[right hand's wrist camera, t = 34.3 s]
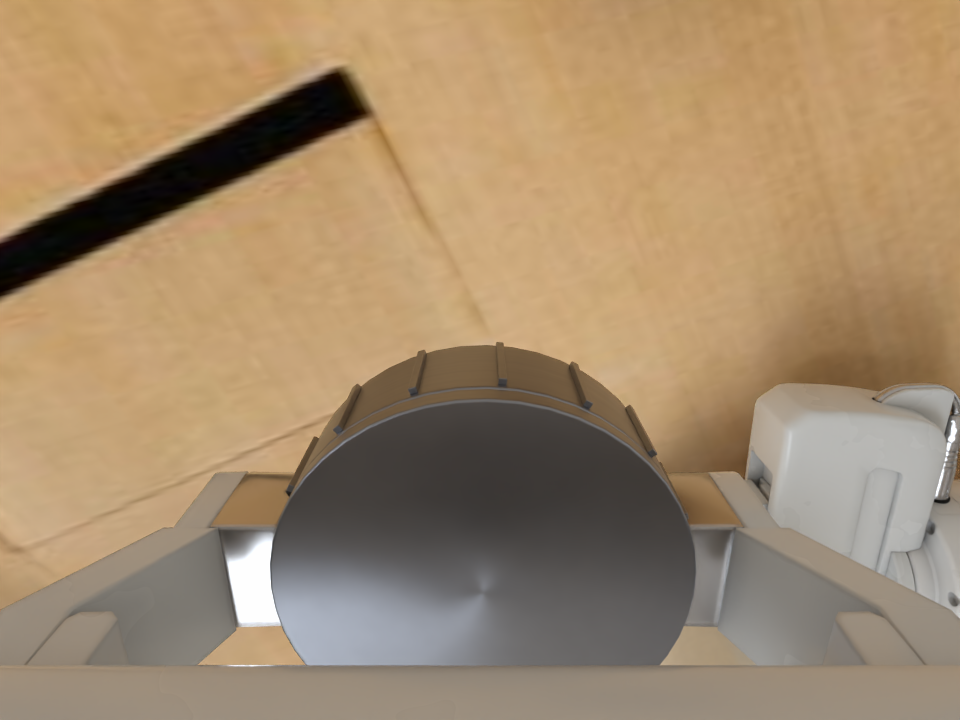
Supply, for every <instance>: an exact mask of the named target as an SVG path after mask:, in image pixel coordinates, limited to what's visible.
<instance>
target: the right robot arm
mask: <svg viewBox="0 0 960 720" xmlns="http://www.w3.org/2000/svg"><path fill="white" fill-rule="evenodd" d="M294 474H295V473H284V472H247V471H240V472H219V473H215V474H214V476H213V477H212V478H211V479H210V481H209V482H208V483H207V485H206V486H205V487H204V489H203V490H202V491H201V492H200V494H199V495H198V496H197V498H196V499H195V500H194V501H193V503H192V504H191V505H190V507H189V508H188V509H187V511H186V512H185V513H184V514H183V516H182V517H181V518H180V520H179V521H178V522H177V523H176V525H175V526H174V527H173V528H162V529H160V530H158V531H156V532H154V533H152V534H150V535H148V536H146V537H144V538H142V539H140V540H138V541H136V542H134V543H132V544H130V545H128V546H126V547H124V548H122V549H120V550H118V551H116V552H114V553H112V554H111V555H109V556H107V557H105V558H103V559H101V560H99V561H97V562H95V563H93V564H91V565H89V566H87V567H85V568H83V569H81V570H79V571H77V572H75V573H73V574H71V575H69V576H67V577H65V578H63V579H61V580H59V581H57V582H55V583H53V584H51V585H49V586H47V587H45V588H43V589H41V590H39V591H37V592H35V593H33V594H31V595H29V596H27V597H25V598H23V599H21V600H19V601H17V602H15V603H13V604H11V605H9V606H7V607H5V608H3V609H2V610H1V611H0V720H960V618H959V617H958V616H957V615H956V614H955V613H954V612H953V611H952V610H950V609H948V608H946V607H944V606H942V605H940V604H939V603H937V602H935V601H933V600H931V599H929V598H927V597H925V596H923V595H921V594H919V593H917V592H915V591H913V590H911V589H909V588H907V587H905V586H903V585H901V584H899V583H897V582H895V581H893V580H891V579H889V578H887V577H885V576H884V575H882V574H880V573H878V572H876V571H874V570H872V569H870V568H868V567H866V566H864V565H862V564H860V563H858V562H856V561H854V560H852V559H850V558H848V557H846V556H844V555H842V554H840V553H838V552H836V551H834V550H832V549H830V548H829V547H827V546H825V545H823V544H821V543H819V542H817V541H815V540H813V539H811V538H809V537H807V536H805V535H803V534H801V533H799V532H797V531H795V530H793V529H791V528H780V527H779V525H778V524H777V523H776V521H775V520H774V519H773V518H772V516H771V515H770V514H769V512H768V511H767V510H766V508H765V507H764V506H763V504H762V503H761V502H760V500H759V499H758V498H757V497H756V495H755V494H754V493H753V491H752V490H751V489H750V487H749V486H748V485H747V483H746V482H745V481H744V479H743V478H742V477H741V475H740V474H738V473H736V472H734V471H725V472H695V473H667V475H668V477H669V479H670V481H671V483H672V485H673V486H674V488H675V490H676V492H677V494H678V496H679V498H680V500H681V502H682V503H683V505H684V507H685V509H686V511H687V513H688V517H689V519H687V521H688V523H689V526H690V530H691V534H692V538H693V543H694V547H695V558H696V579H695V589H694V596H693V600H692V604H691V608H690V611H689V615H688V618H687V620H686V623H685V625H684V626H694V627H718V629H717V630H718V631H719V632H721V633H722V634H723V635H724V636H725V637H726V638H727V639H728V640H730V641H731V642H732V643H733V644H734V645H735V646H736V647H737V648H738V649H740V650H741V651H742V652H743V653H744V654H745V655H746V656H747V657H748V658H750V659H751V660H752V661H753V662H754V663H755V664H756V665H198V664H199V663H200V662H201V661H202V660H203V659H204V658H205V657H207V656H208V655H209V654H210V653H211V652H212V651H213V650H214V649H216V648H217V647H218V646H219V645H220V644H221V643H222V642H223V641H225V640H226V639H227V638H228V637H229V636H230V635H231V634H232V633H234V632H235V631H236V627H259V626H282V625H281V623H280V620H279V618H278V615H277V612H276V609H275V605H274V600H273V595H272V591H271V581H270V557H271V548H272V541H273V537H274V534H275V530H276V527H277V524H278V520H279V518H280V515H281V513H282V511H283V509H284V507H285V505H286V503H287V501H288V499H289V497H290V495H291V493H292V492H290V491H287V490H286V489H287V487H288V485H289V483H290V481H291V479H292V477H293V475H294Z"/></svg>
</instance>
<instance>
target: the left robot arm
mask: <svg viewBox="0 0 960 720" xmlns="http://www.w3.org/2000/svg"><path fill="white" fill-rule="evenodd" d="M959 449H960V399H959V397H958V396H957V394H956V393H955V392H954V391H953V390H951V389H950V388H948V387H947V386H944V385H941V384H935V383H909V384H897V385H893V386H890V387H887V388H886V389H884V390H882V391H880V392H879V391H874V390H869V389H863V388H856V387H848V386H839V385H828V384H809V383H783V384H778V385H776V386H775V387H773V388H772V389H770V390H769V391H767V392H765V393H764V394H763V395H761V396H760V397H758V399H757V400H756V403H755V408H754V415H753V423H752V430H751V437H750V444H749V451H748V459H747V466H746V473H745V480H744V481H745V482H746V483H747V485H748V486H749V487H750V489H751V490H752V491H753V493H754V494H755V495H756V497H757V498H758V499H759V500H760V502H761V503H762V504H763V506H764V507H765V508H766V510H767V511H768V512H769V514H770V515H771V516H772V518H773V519H774V520H775V521H776V523H777V524H778V525H779V527H780V528H791V529H793V530H795V531H797V532H799V533H801V534H803V535H805V536H807V537H809V538H811V539H813V540H815V541H817V542H819V543H821V544H823V545H825V546H827V547H829V548H830V549H832V550H834V551H836V552H838V553H840V554H842V555H844V556H846V557H848V558H850V559H852V560H854V561H856V562H858V563H860V564H862V565H864V566H866V567H868V568H870V569H872V570H874V571H876V572H878V573H880V574H882V575H884V576H885V577H887V578H889V579H891V580H893V581H895V582H897V583H899V584H901V585H903V586H905V587H907V588H909V589H911V590H913V591H915V592H917V593H919V594H921V595H923V596H925V597H927V598H929V599H931V600H933V601H935V602H937V603H939V604H940V605H942V606H944V607H946V608H948V609H950V610H952V611H953V612H954V613H955V614H956V615H957V616H958V617H959V618H960V479H954V477H955V474H956V468H957V459H958V454H959Z"/></svg>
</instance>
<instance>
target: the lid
mask: <svg viewBox="0 0 960 720" xmlns="http://www.w3.org/2000/svg"><path fill="white" fill-rule="evenodd" d="M655 455H657V452H656V450H655V448H654V447H653V445H652V443H651V441H650V439H649V437H648V435H647V433H646V432H645V430H644V428H643V426H642V424H641V422H640V420H639V418H638V417H637V415H636V413H635V411H634V409H633V408H632V407H631V405H629V406H627V407H626V408H625V406H624V405H623V404H622V403H621V402H620V400H619V399H618V398H616V397H615V396H614V395H613V394H612V393H611V392H610V391H609V390H607V389H606V388H605V387H604V386H603V385H602V384H600V383H599V382H597V381H596V380H594V379H593V378H591V377H590V376H589V375H587V374H586V373H584V372H583V371H581V370H580V369H579V366H578V364H576V363H574V362H571V364H570V365H568V364H566V363H564V362H562V361H560V360H557V359H554V358H552V357H549V356H546V355H543V354H540V353H537V352H532V351H527V350H523V349H518V348H513V347H504V344H503V343H501V342H496V346H489V345H482V346H460V347H454V348H448V349H442V350H437V351H433V352H430V353H426V352H425V350H422V351H419V352H418V354H417V356H416V357H413V358H410V359H408V360H406V361H404V362H401V363H399V364H397V365H395V366H392V367H390V368H388V369H387V370H385V371H383V372H382V373H380V374H379V375H377V376H375V377H374V378H372V379H370V380H369V381H368V382H366V383H365V384H364V385H363V386H362V387H360V386H359V385H358V384H356V385H355V386H354V387H353V388H352V390H351V392H350V395H349V397H348V399H347V400H346V401H345V402H344V403H343V404H342V406H341V407H340V408H339V409H338V410H337V411H336V412H335V414H334V415H333V417H332V418H331V420H330V421H329V423H328V424H327V425H326V427H325V428H324V430H323V432H322V434H321V436H320V438H317V437H314V438H313V440H312V442H311V443H310V445H309V447H308V449H307V451H306V453H305V455H304V457H303V459H302V460H301V462H300V464H299V466H298V468H297V470H296V472H295V474H294V475H293V477H292V479H291V481H290V483H289V485H288V487H287V489H286V490H287V491H290V492H292V493H291V495H290V497H289V499H288V501H287V503H286V505H285V507H284V509H283V511H282V513H281V515H280V518H279V520H278V524H277V527H276V530H275V534H274V537H273V541H272V548H271V557H270V581H271V591H272V595H273V600H274V605H275V609H276V612H277V615H278V618H279V620H280V623H281V625H282V628H283V631H284V632H285V634H286V636H287V638H288V639H289V641H290V643H291V645H292V647H293V648H294V650H295V651H296V653H297V654H298V655H299V657H300V658H301V659H302V661H303V662H304V663H305V665H660V664H661V663H662V662H663V660H664V659H665V658H666V657H667V656H668V654H669V652H670V651H671V649H672V648H673V646H674V644H675V643H676V641H677V640H678V638H679V636H680V634H681V632H682V629H683V627H684V625H685V623H686V620H687V618H688V615H689V611H690V608H691V604H692V600H693V596H694V589H695V579H696V558H695V547H694V543H693V538H692V534H691V530H690V526H689V523H688V521H687V519H689V517H688V513H687V511H686V509H685V507H684V505H683V503H682V502H681V500H680V498H679V496H678V494H677V492H676V490H675V488H674V486H673V485H672V483H671V481H670V479H669V477H668V475H667V473H666V471H665V469H664V468H663V466H662V464H661V462H660V463H659V462H658V460H657V458H656V456H655Z"/></svg>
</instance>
